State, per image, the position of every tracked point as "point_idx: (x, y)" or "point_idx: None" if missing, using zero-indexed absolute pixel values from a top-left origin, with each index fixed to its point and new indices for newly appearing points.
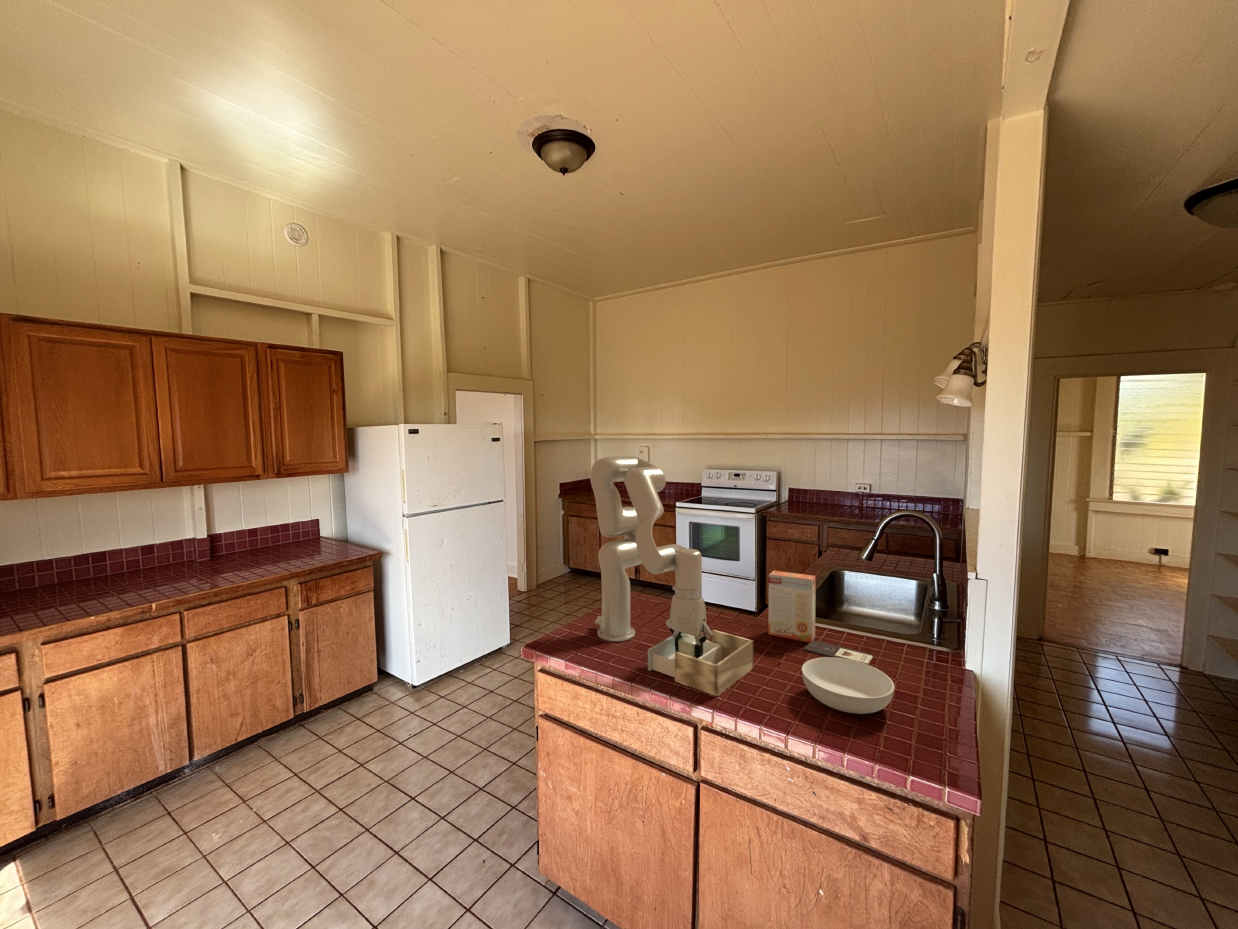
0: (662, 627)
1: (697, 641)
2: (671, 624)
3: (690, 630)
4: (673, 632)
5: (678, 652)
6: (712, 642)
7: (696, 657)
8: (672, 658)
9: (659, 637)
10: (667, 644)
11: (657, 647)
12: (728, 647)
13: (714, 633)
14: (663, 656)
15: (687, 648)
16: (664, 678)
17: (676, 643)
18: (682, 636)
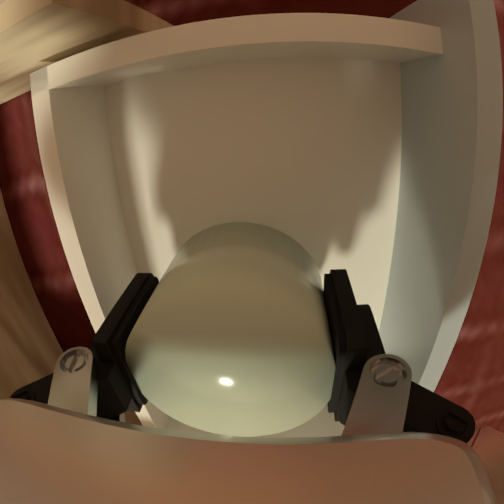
0: (496, 423)
1: (72, 373)
2: (462, 501)
3: (28, 459)
4: (417, 408)
5: (23, 12)
6: None
7: (137, 276)
8: (362, 241)
9: (498, 380)
10: (432, 282)
11: (468, 111)
12: None
13: None
14: (410, 187)
15: (170, 286)
16: (256, 10)
17: (343, 317)
18: (334, 417)
